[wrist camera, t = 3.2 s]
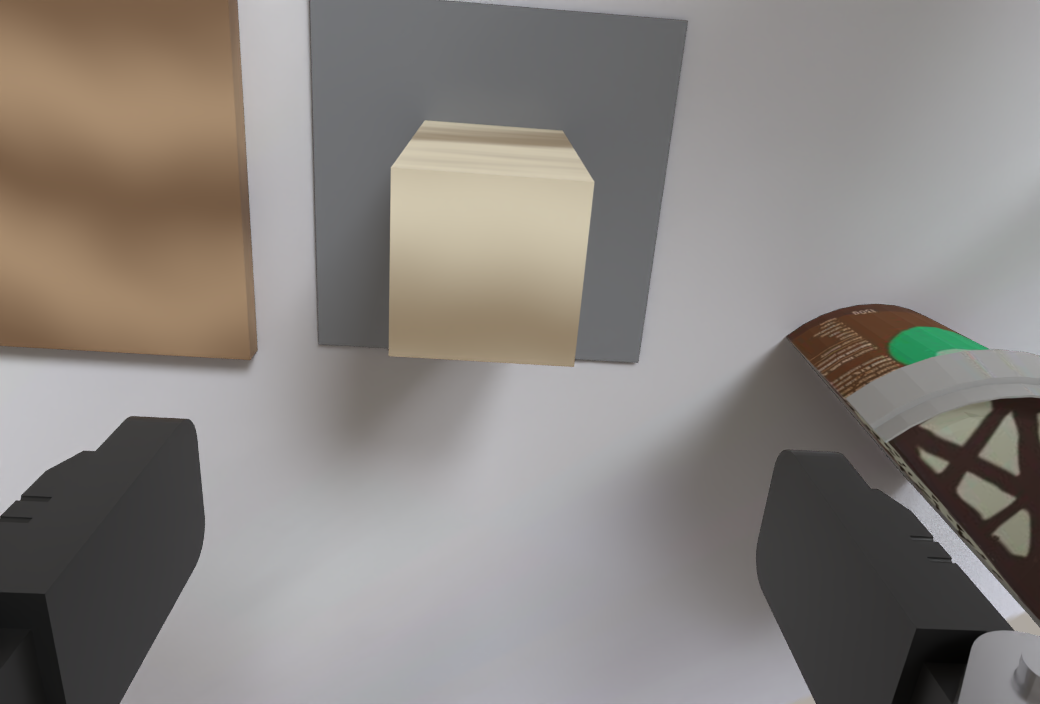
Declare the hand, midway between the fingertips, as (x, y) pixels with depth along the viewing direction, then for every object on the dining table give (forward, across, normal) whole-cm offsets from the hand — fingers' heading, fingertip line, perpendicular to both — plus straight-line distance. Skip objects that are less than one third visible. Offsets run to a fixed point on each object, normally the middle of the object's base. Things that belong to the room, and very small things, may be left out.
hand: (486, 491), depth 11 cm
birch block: (+20, 0, 0) cm, 20 cm away
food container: (+21, -18, +6) cm, 28 cm away
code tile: (+20, 0, 0) cm, 20 cm away
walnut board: (+20, +15, 0) cm, 25 cm away
